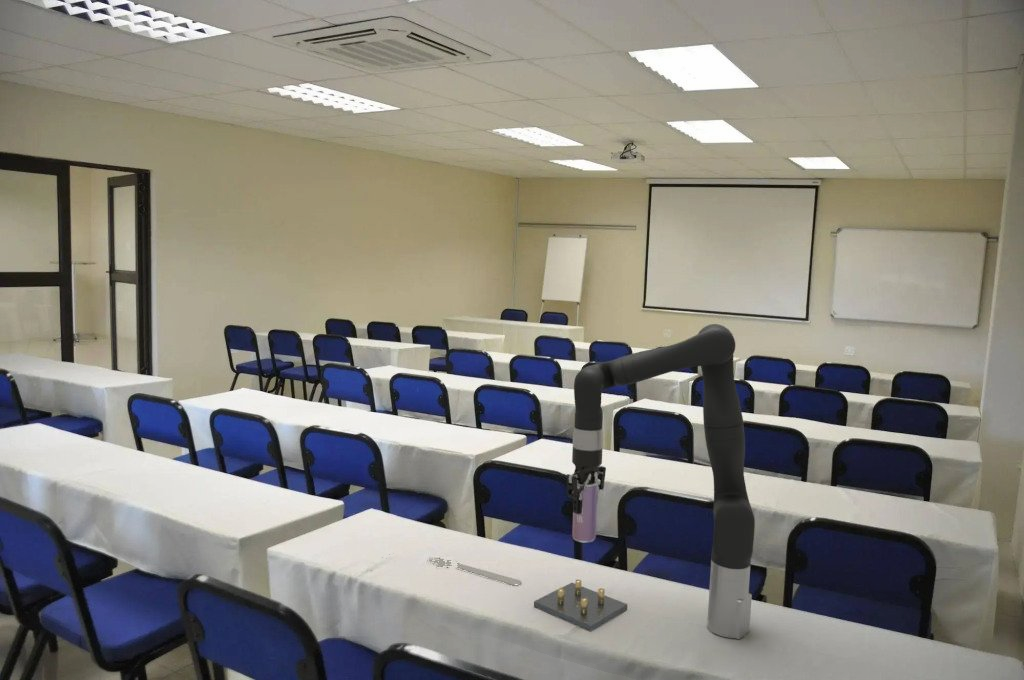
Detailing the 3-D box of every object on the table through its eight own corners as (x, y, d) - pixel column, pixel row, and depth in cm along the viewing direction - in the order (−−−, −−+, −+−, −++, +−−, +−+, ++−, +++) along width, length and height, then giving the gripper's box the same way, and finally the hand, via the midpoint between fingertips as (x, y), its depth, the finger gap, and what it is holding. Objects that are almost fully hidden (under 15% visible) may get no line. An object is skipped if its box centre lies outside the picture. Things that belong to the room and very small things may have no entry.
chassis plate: (627, 609, 188) (628, 591, 188) (590, 631, 177) (591, 611, 176) (571, 587, 200) (572, 570, 200) (533, 606, 189) (534, 588, 188)
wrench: (436, 554, 221) (436, 552, 221) (528, 580, 205) (528, 577, 205) (419, 564, 214) (419, 561, 214) (513, 591, 198) (513, 588, 198)
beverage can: (600, 538, 187) (602, 481, 185) (586, 545, 182) (588, 486, 181) (581, 532, 191) (583, 476, 189) (567, 538, 186) (569, 481, 185)
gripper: (582, 453, 176) (580, 520, 178) (616, 443, 187) (613, 507, 189) (558, 447, 181) (555, 513, 183) (592, 438, 192) (589, 500, 194)
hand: (585, 510), depth 186 cm, fingers closed on beverage can, 6 cm apart
